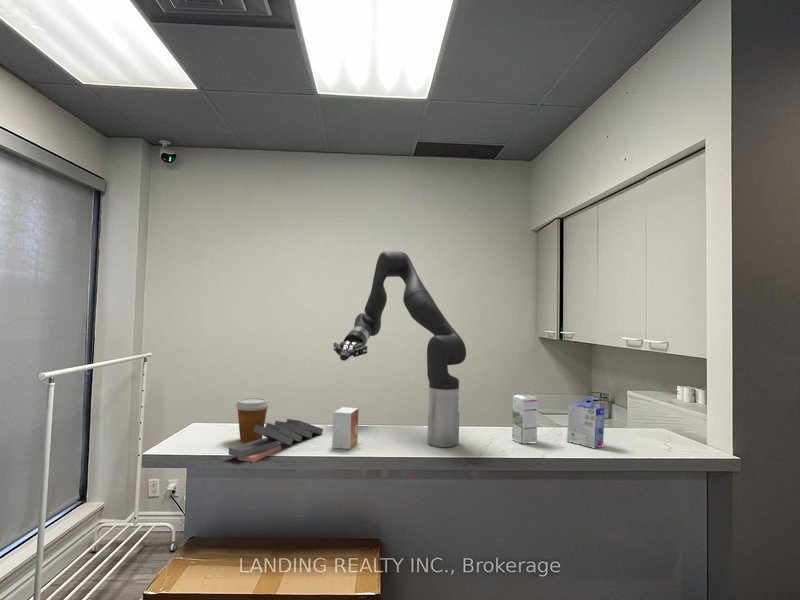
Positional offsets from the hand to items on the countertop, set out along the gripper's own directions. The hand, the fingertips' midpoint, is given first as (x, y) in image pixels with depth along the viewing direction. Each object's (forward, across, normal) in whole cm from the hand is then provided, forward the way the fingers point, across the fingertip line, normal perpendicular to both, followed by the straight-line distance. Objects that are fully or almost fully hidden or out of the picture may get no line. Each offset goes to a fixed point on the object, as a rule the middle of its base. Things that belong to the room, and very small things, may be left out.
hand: (343, 357), depth 165 cm
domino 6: (+14, -5, +20) cm, 25 cm away
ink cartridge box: (+2, +80, +20) cm, 83 cm away
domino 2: (+29, -9, +15) cm, 34 cm away
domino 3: (+32, -11, +15) cm, 37 cm away
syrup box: (+5, +61, +20) cm, 65 cm away
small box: (+24, +8, +17) cm, 31 cm away
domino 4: (+24, -8, +17) cm, 30 cm away
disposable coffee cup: (+27, -21, +18) cm, 38 cm away
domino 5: (+19, -6, +18) cm, 27 cm away
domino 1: (+33, -11, +13) cm, 37 cm away
